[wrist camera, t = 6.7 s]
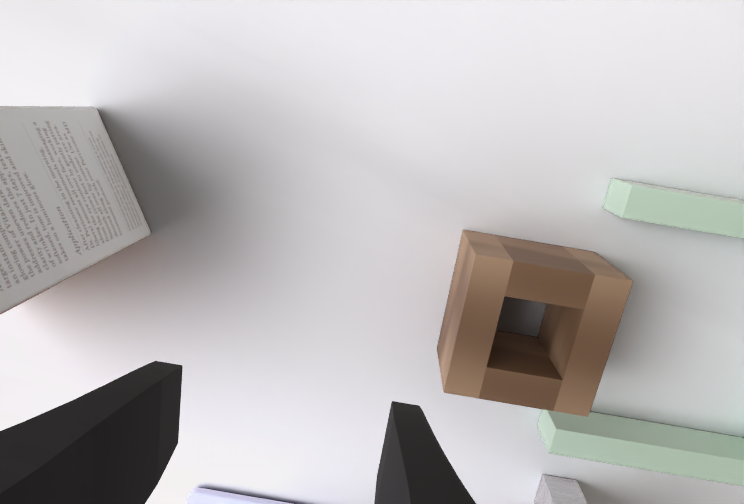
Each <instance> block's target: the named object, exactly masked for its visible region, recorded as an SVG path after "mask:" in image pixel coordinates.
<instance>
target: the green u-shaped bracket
mask: <svg viewBox="0 0 744 504" xmlns="http://www.w3.org/2000/svg"><path fill="white" fill-rule="evenodd" d="M603 208H604V209H605V210H607V211H609V212H611V213H613V214H615V215H617V216H619V217H621V218H625V219H631V220H637V221H643V222H649V223H655V224H661V225H667V226H673V227H679V228H684V229H690V230H696V231H702V232H708V233H714V234H720V235H726V236H732V237H738V238H744V200H739V199H733V198H727V197H721V196H715V195H709V194H703V193H697V192H692V191H686V190H680V189H674V188H668V187H662V186H656V185H650V184H644V183H638V182H632V181H626V180H620V179H614V178H612V179H611V182H610V185H609V189H608V192H607V195H606V199H605V202H604V205H603ZM537 427H538V430H539V432H540V434H541V436H542V439H543V441H544V443H545V446H546V448H547V450H548V453H551V454H557V455H563V456H569V457H575V458H580V459H586V460H592V461H598V462H604V463H610V464H616V465H622V466H628V467H633V468H639V469H645V470H651V471H657V472H663V473H669V474H675V475H680V476H686V477H692V478H698V479H704V480H710V481H716V482H722V483H727V484H733V485H739V486H744V438H742V437H736V436H730V435H724V434H718V433H713V432H707V431H701V430H695V429H689V428H683V427H677V426H671V425H665V424H660V423H654V422H648V421H642V420H636V419H630V418H624V417H618V416H612V415H607V414H601V413H595V412H590V413H589V416H588V417H585V416H580V415H574V414H568V413H562V412H556V411H550V410H544V409H542V413H541V416H540V419H539V423H538V426H537Z"/></svg>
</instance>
